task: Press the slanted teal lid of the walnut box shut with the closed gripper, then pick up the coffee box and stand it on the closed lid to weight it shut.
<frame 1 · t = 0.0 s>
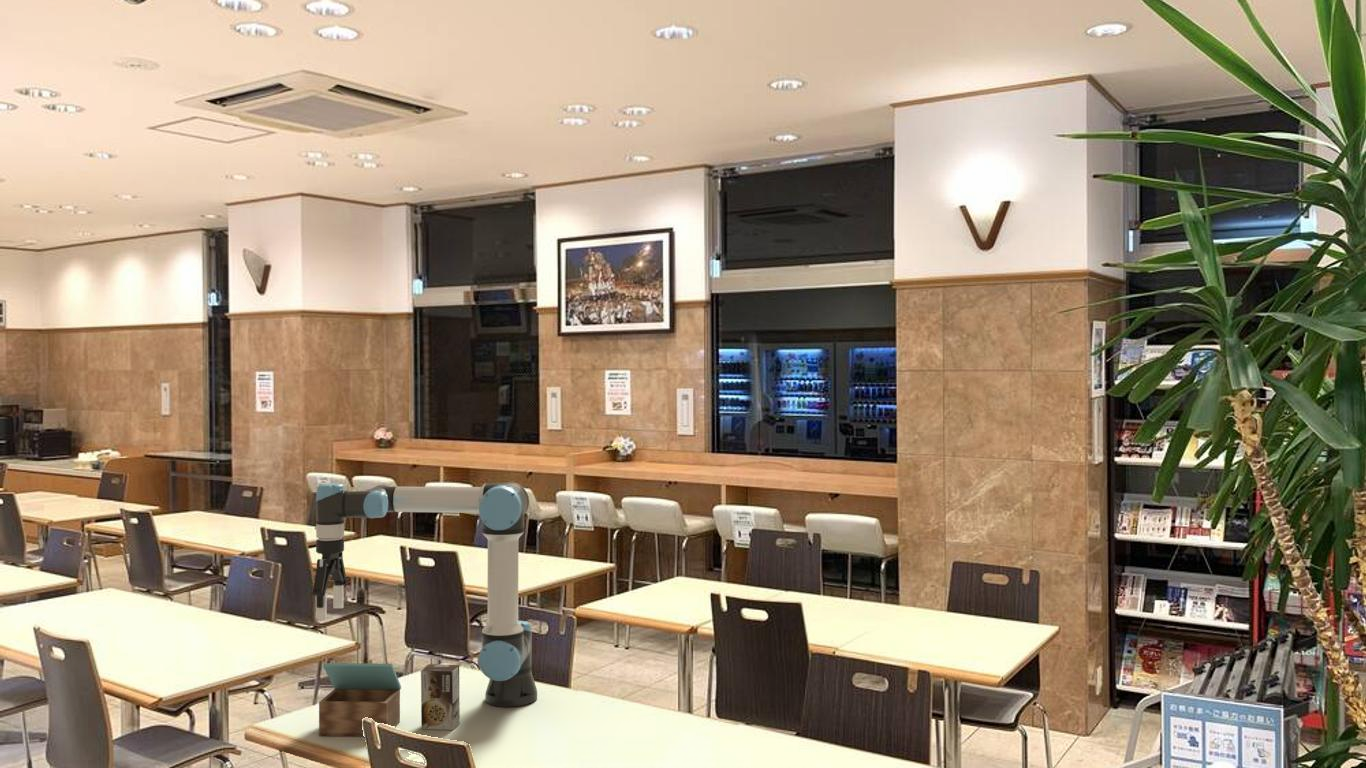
hand: (329, 613, 297), 28 cm above the table, fingers open, 13 cm apart
box: (360, 728, 283), on the table
lid: (362, 676, 285), point 14 cm above the table, hinge at 45.0°
coffee box: (440, 726, 286), on the table
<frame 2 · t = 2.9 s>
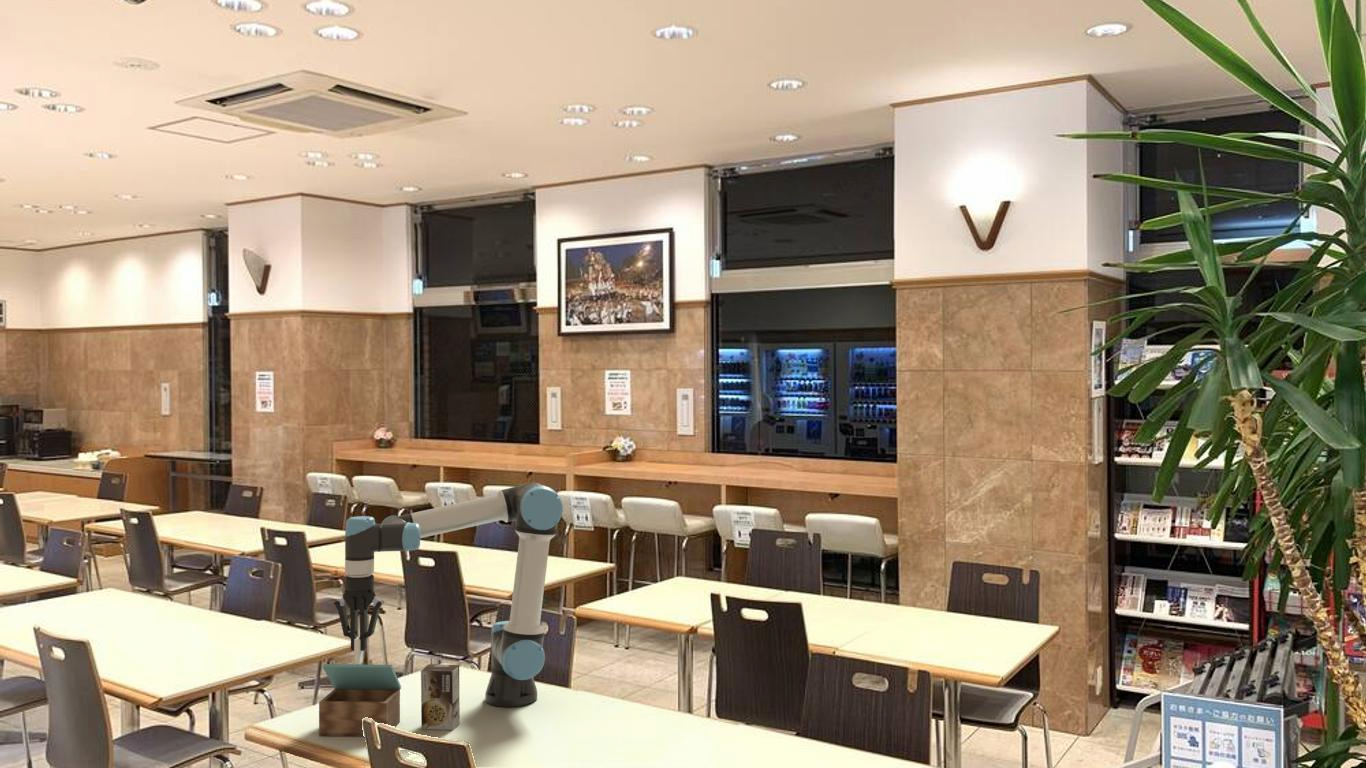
hand: (358, 662, 282), 18 cm above the table, fingers closed
lid: (362, 676, 285), point 14 cm above the table, hinge at 43.5°, touching gripper
everything else where it was.
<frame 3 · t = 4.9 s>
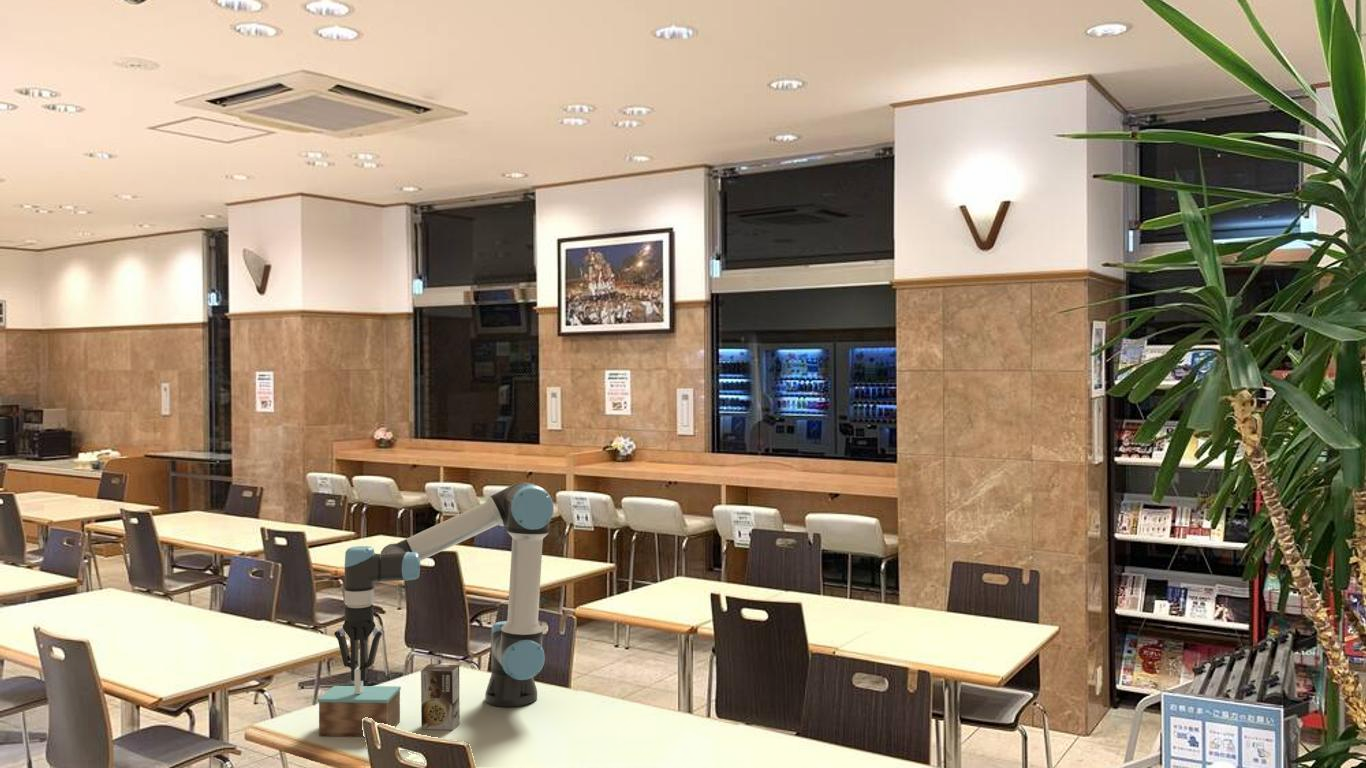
hand: (358, 692, 282), 10 cm above the table, fingers closed
lid: (360, 694, 283), point 9 cm above the table, hinge at 0.7°
everything else where it was.
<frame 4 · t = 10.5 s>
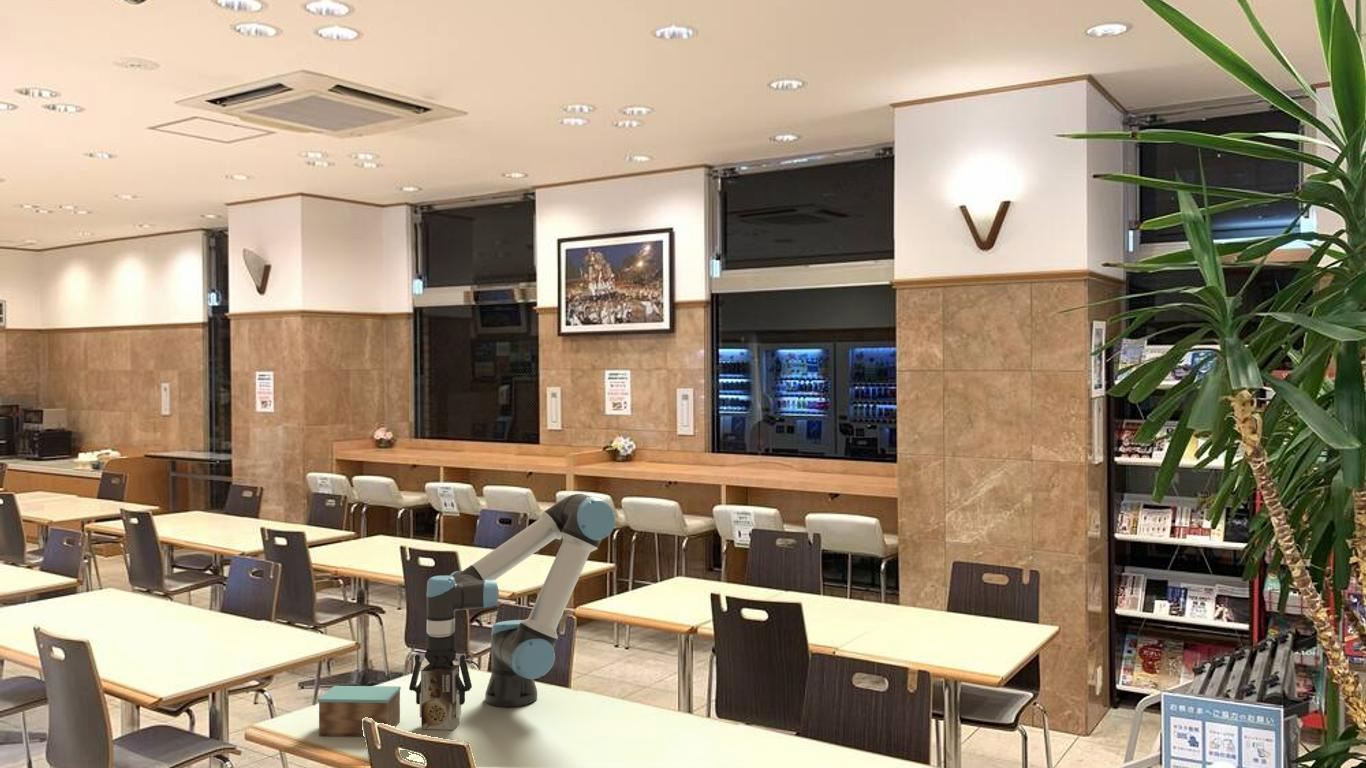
hand: (440, 716, 286), 3 cm above the table, fingers closed on coffee box, 9 cm apart
coffee box: (440, 726, 286), on the table, touching gripper
everything else where it was.
when the fingers open (14 cm above the table, at t = 16.9 s): coffee box drops 2 cm, resting on lid.
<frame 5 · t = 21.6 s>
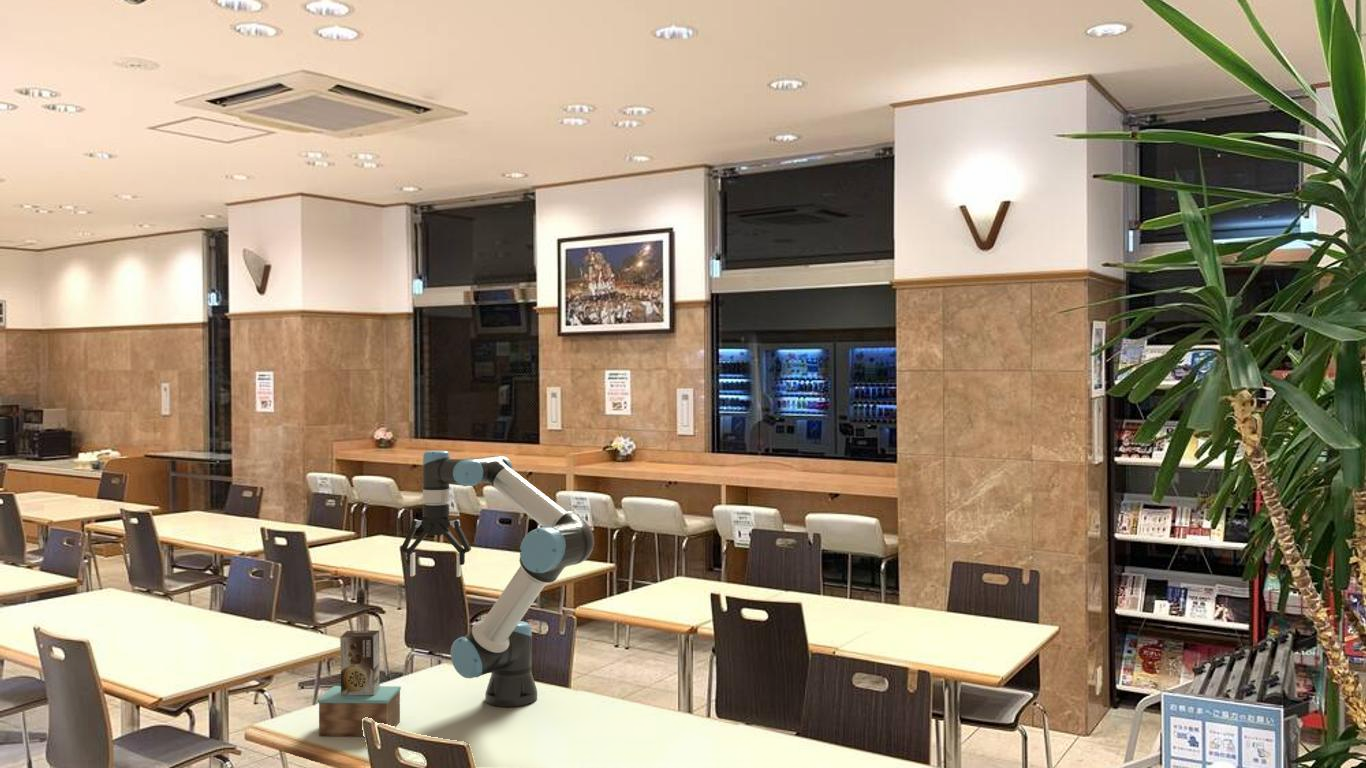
hand: (435, 575, 308), 37 cm above the table, fingers open, 13 cm apart
lid: (360, 694, 283), point 9 cm above the table, hinge at 0.0°, touching box, coffee box
coffee box: (360, 693, 283), point 10 cm above the table, touching lid
at the end: lid at +0° (first picture: +45°); coffee box inside the target area on the box (0.2 cm from its centre), point 9.6 cm above the box's base; coffee box tilted 0° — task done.
